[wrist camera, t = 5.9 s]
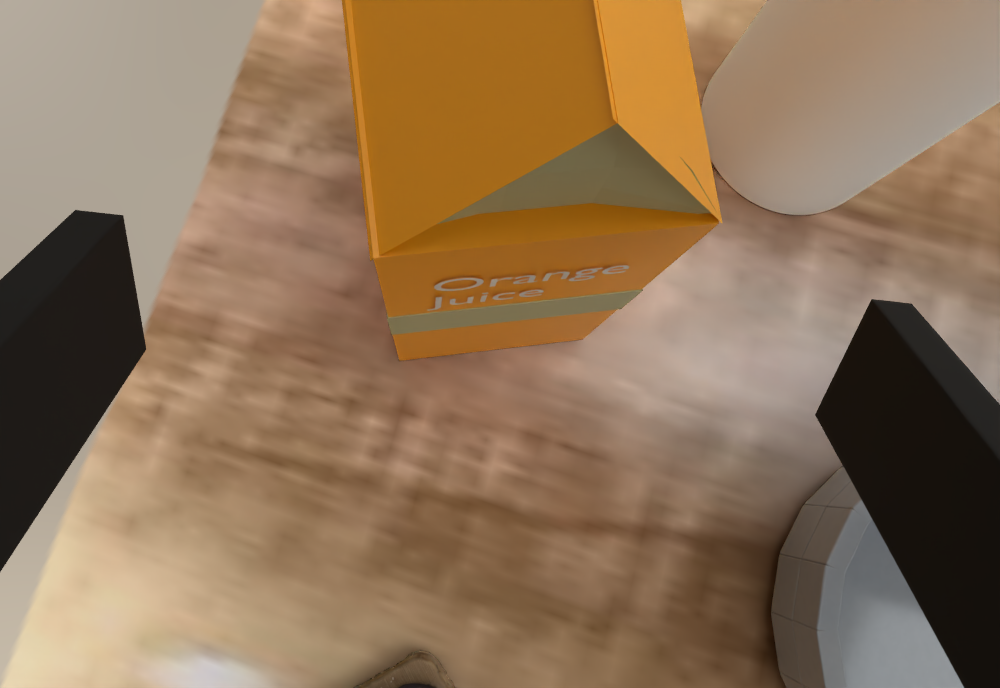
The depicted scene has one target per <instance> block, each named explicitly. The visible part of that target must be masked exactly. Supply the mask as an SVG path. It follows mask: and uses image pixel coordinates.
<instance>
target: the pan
mask: <svg viewBox="0 0 1000 688" xmlns="http://www.w3.org/2000/svg"><path fill="white" fill-rule="evenodd" d="M771 611H772V612H771V617H772V624H773V631H774V638H775V645H776V652H777V659H778V666H779V671H780V675H781V677H782V679H783V681H784V684H785V686H786V688H964V687H963V685H962V683H961V681H960V679H959V677H958V676H957V674H956V672H955V670H954V668H953V666H952V665H951V663H950V661H949V659H948V657H947V655H946V654H945V652H944V650H943V648H942V646H941V644H940V643H939V641H938V639H937V637H936V635H935V633H934V632H933V630H932V628H931V626H930V624H929V622H928V621H927V619H926V617H925V615H924V613H923V611H922V610H921V608H920V606H919V604H918V602H917V600H916V599H915V597H914V595H913V593H912V591H911V589H910V588H909V586H908V584H907V582H906V580H905V578H904V577H903V575H902V573H901V571H900V569H899V567H898V566H897V564H896V562H895V560H894V558H893V556H892V555H891V553H890V551H889V549H888V547H887V545H886V544H885V542H884V540H883V538H882V536H881V534H880V533H879V531H878V529H877V527H876V525H875V523H874V522H873V520H872V518H871V516H870V514H869V512H868V511H867V509H866V507H865V505H864V503H863V501H862V500H861V498H860V496H859V494H858V492H857V490H856V489H855V487H854V485H853V483H852V481H851V479H850V478H849V476H848V474H847V472H846V470H845V468H844V467H843V466H842V467H841V468H839V469H838V470H837V471H836V472H835V473H834V474H833V475H832V476H831V477H830V478H829V480H828V481H827V482H826V483H825V484H824V485H823V486H822V487H821V488H820V489H819V490H818V491H817V492H816V493H815V494H814V495H813V496H812V497H811V498H810V499H809V500H808V501H807V502H806V503H805V505H803V506H802V508H801V510H800V512H799V514H798V516H797V518H796V521H795V523H794V525H793V527H792V529H791V531H790V533H789V535H788V537H787V539H786V541H785V543H784V545H783V547H782V549H781V551H780V555H779V560H778V567H777V573H776V580H775V587H774V594H773V600H772V607H771Z"/></svg>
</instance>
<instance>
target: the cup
mask: <svg viewBox="0 0 1000 688" xmlns="http://www.w3.org/2000/svg"><path fill="white" fill-rule="evenodd" d="M999 102H1000V0H767V1H766V3H765V4H764V5H763V7H762V8H761V9H760V11H759V12H758V14H757V15H756V16H755V18H754V19H753V21H752V22H751V23H750V25H749V26H748V28H747V29H746V30H745V32H744V33H743V34H742V36H741V37H740V39H739V40H738V41H737V43H736V44H735V46H734V47H733V48H732V50H731V51H730V53H729V54H728V55H727V57H726V58H725V59H724V61H723V62H722V64H721V65H720V66H719V68H718V69H717V71H716V72H715V74H714V75H713V77H712V78H711V80H710V82H709V84H708V86H707V88H706V91H705V94H704V97H703V101H702V107H701V111H702V117H703V122H704V127H705V133H706V138H707V143H708V149H709V154H710V159H711V161H712V163H713V164H714V166H715V168H716V169H717V171H718V172H719V173H720V175H721V176H722V177H723V179H724V180H725V181H726V182H727V183H728V184H729V185H730V186H731V187H732V188H733V189H734V190H735V191H737V192H738V193H739V194H740V195H742V196H743V197H744V198H746V199H748V200H749V201H751V202H753V203H754V204H756V205H758V206H761V207H763V208H765V209H768V210H771V211H774V212H778V213H783V214H790V215H810V214H816V213H821V212H824V211H828V210H830V209H833V208H835V207H837V206H839V205H841V204H843V203H844V202H846V201H848V200H849V199H851V198H852V197H854V196H855V195H857V194H858V193H860V192H861V191H863V190H865V189H866V188H868V187H869V186H871V185H872V184H874V183H875V182H877V181H878V180H880V179H882V178H883V177H885V176H886V175H888V174H889V173H891V172H892V171H894V170H895V169H897V168H899V167H900V166H902V165H903V164H905V163H906V162H908V161H909V160H911V159H912V158H914V157H916V156H917V155H919V154H920V153H922V152H923V151H925V150H926V149H928V148H929V147H931V146H933V145H934V144H936V143H937V142H939V141H940V140H942V139H943V138H945V137H946V136H948V135H950V134H951V133H953V132H954V131H956V130H957V129H959V128H960V127H962V126H964V125H965V124H967V123H968V122H970V121H971V120H973V119H974V118H976V117H977V116H979V115H981V114H982V113H984V112H985V111H987V110H988V109H990V108H991V107H993V106H994V105H996V104H998V103H999Z"/></svg>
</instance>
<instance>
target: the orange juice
mask: <svg viewBox="0 0 1000 688" xmlns="http://www.w3.org/2000/svg"><path fill="white" fill-rule="evenodd" d="M342 6H343V15H344V24H345V33H346V42H347V51H348V61H349V70H350V79H351V88H352V97H353V106H354V116H355V125H356V134H357V143H358V152H359V161H360V171H361V180H362V189H363V198H364V207H365V216H366V226H367V235H368V244H369V253H370V261H371V260H373V259H374V262H375V266H376V270H377V274H378V278H379V282H380V286H381V290H382V294H383V298H384V302H385V306H386V313H387V320H388V324H389V328H390V331H391V335H393V338H394V342H395V346H396V350H397V354H398V358H399V361H402V360H411V359H419V358H428V357H436V356H445V355H454V354H462V353H471V352H479V351H488V350H496V349H505V348H513V347H522V346H531V345H539V344H548V343H556V342H565V341H573V340H582V339H584V338H585V337H586V336H587V335H588V334H589V333H591V332H592V331H593V330H594V329H595V328H596V327H598V326H599V325H600V324H601V323H602V322H604V321H605V320H606V319H607V318H608V317H609V316H611V315H612V314H613V313H614V312H615V311H616V310H618V309H621V308H623V307H624V306H625V305H626V304H627V303H629V302H630V301H631V300H632V299H633V298H635V297H636V296H637V295H638V294H639V293H641V292H642V291H643V289H642V288H644V287H645V286H646V285H647V284H648V283H649V282H651V281H652V280H653V279H654V278H655V277H657V276H658V275H659V274H660V273H661V272H662V271H664V270H665V269H666V268H667V267H668V266H669V265H671V264H672V263H673V262H674V261H675V260H677V259H678V258H679V257H680V256H681V255H682V254H684V253H685V252H686V251H687V250H688V249H689V248H691V247H692V246H693V245H694V244H695V243H697V242H698V241H699V240H700V239H701V238H702V237H704V236H705V235H706V234H707V233H708V232H709V231H711V230H712V229H713V228H714V227H715V226H717V225H718V224H719V221H720V222H721V223H722V219H721V213H720V208H719V202H718V197H717V192H716V186H715V181H714V176H713V170H712V165H711V160H710V154H709V149H708V143H707V138H706V133H705V127H704V122H703V117H702V111H701V106H700V101H699V95H698V90H697V85H696V79H695V74H694V68H693V63H692V58H691V52H690V47H689V42H688V36H687V31H686V26H685V20H684V15H683V10H682V4H681V0H342Z"/></svg>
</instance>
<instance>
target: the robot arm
mask: <svg viewBox="0 0 1000 688" xmlns="http://www.w3.org/2000/svg"><path fill="white" fill-rule="evenodd" d="M145 350H146V345H145V339H144V333H143V328H142V322H141V316H140V310H139V305H138V299H137V293H136V288H135V281H134V276H133V270H132V264H131V258H130V253H129V247H128V242H127V235H126V230H125V224H124V218H123V215H114V214H105V213H96V212H88V211H79V210H75V211H74V212H73V213H72V214H71V215H70V216H69V217H67V218H66V219H65V220H64V221H63V222H62V223H61V224H60V225H59V226H58V227H57V228H56V229H55V230H54V231H52V232H51V233H50V234H49V235H48V236H47V237H46V238H45V239H44V240H43V241H42V242H41V243H40V244H39V245H37V246H36V247H35V248H34V249H33V250H32V251H31V252H30V253H29V254H28V255H27V256H26V257H25V258H24V259H22V260H21V261H20V262H19V263H18V264H17V265H16V266H15V267H14V268H13V269H12V270H11V271H10V272H9V273H7V274H6V275H5V276H4V277H3V278H2V279H1V280H0V571H1V570H2V568H3V567H4V565H5V564H6V562H7V561H8V559H9V558H10V556H11V555H12V553H13V552H14V550H15V548H16V547H17V545H18V544H19V542H20V541H21V539H22V538H23V536H24V535H25V533H26V532H27V530H28V529H29V527H30V525H31V524H32V523H33V521H34V519H35V518H36V517H37V515H38V513H39V512H40V510H41V509H42V507H43V506H44V504H45V503H46V501H47V500H48V498H49V497H50V495H51V494H52V492H53V491H54V489H55V488H56V486H57V484H58V483H59V481H60V480H61V478H62V477H63V475H64V474H65V472H66V471H67V469H68V467H69V466H70V465H71V463H72V461H73V460H74V459H75V457H76V456H77V454H78V452H79V451H80V449H81V448H82V446H83V445H84V443H85V442H86V440H87V439H88V437H89V436H90V434H91V433H92V431H93V429H94V428H95V427H96V425H97V424H98V422H99V420H100V419H101V417H102V416H103V414H104V413H105V411H106V410H107V408H108V407H109V405H110V404H111V402H112V401H113V399H114V398H115V396H116V395H117V393H118V391H119V390H120V388H121V387H122V385H123V384H124V382H125V381H126V379H127V378H128V376H129V375H130V373H131V372H132V370H133V369H134V367H135V366H136V364H137V363H138V361H139V359H140V358H141V356H142V355H143V353H144V352H145ZM815 415H816V417H817V419H818V421H819V423H820V424H821V426H822V428H823V430H824V432H825V434H826V435H827V437H828V439H829V441H830V443H831V445H832V446H833V448H834V450H835V452H836V454H837V456H838V457H839V459H840V461H841V463H842V465H843V467H844V468H845V470H846V472H847V474H848V476H849V478H850V479H851V481H852V483H853V485H854V487H855V489H856V490H857V492H858V494H859V496H860V498H861V500H862V501H863V503H864V505H865V507H866V509H867V511H868V512H869V514H870V516H871V518H872V520H873V522H874V523H875V525H876V527H877V529H878V531H879V533H880V534H881V536H882V538H883V540H884V542H885V544H886V545H887V547H888V549H889V551H890V553H891V555H892V556H893V558H894V560H895V562H896V564H897V566H898V567H899V569H900V571H901V573H902V575H903V577H904V578H905V580H906V582H907V584H908V586H909V588H910V589H911V591H912V593H913V595H914V597H915V599H916V600H917V602H918V604H919V606H920V608H921V610H922V611H923V613H924V615H925V617H926V619H927V621H928V622H929V624H930V626H931V628H932V630H933V632H934V633H935V635H936V637H937V639H938V641H939V643H940V644H941V646H942V648H943V650H944V652H945V654H946V655H947V657H948V659H949V661H950V663H951V665H952V666H953V668H954V670H955V672H956V674H957V676H958V677H959V679H960V681H961V683H962V685H963V687H964V688H1000V405H999V403H998V402H997V401H996V400H995V399H994V398H993V397H992V395H991V394H990V393H989V392H988V391H987V390H986V389H985V387H984V386H983V385H982V384H981V383H980V382H979V380H978V379H977V378H976V377H975V376H974V375H973V374H972V372H971V371H970V370H969V369H968V368H967V367H966V366H965V364H964V363H963V362H962V361H961V360H960V359H959V358H958V356H957V355H956V354H955V353H954V352H953V351H952V349H951V348H950V347H949V346H948V345H947V344H946V343H945V341H944V340H943V339H942V338H941V337H940V336H939V335H938V333H937V332H936V331H935V330H934V329H933V328H932V327H931V325H930V324H929V323H928V322H927V321H926V320H925V319H924V317H923V316H922V315H921V314H920V313H919V312H918V310H917V309H916V308H915V307H914V306H913V305H912V304H909V303H900V302H892V301H883V300H874V299H872V300H871V302H870V304H869V306H868V308H867V310H866V312H865V314H864V316H863V318H862V320H861V322H860V324H859V326H858V328H857V330H856V332H855V334H854V336H853V338H852V340H851V343H850V345H849V347H848V349H847V351H846V353H845V355H844V357H843V359H842V361H841V363H840V365H839V367H838V369H837V371H836V373H835V375H834V377H833V379H832V381H831V383H830V385H829V388H828V390H827V392H826V394H825V396H824V398H823V400H822V402H821V404H820V406H819V408H818V410H817V412H816V414H815Z"/></svg>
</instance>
